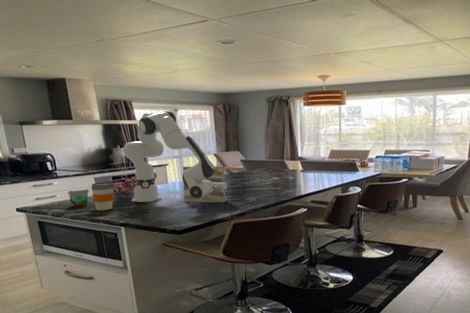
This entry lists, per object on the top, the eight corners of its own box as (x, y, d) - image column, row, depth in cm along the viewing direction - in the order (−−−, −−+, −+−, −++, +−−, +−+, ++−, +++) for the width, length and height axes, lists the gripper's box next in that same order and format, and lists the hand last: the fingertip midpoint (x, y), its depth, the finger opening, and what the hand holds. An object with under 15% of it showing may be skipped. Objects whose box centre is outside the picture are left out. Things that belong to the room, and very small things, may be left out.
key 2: (212, 186, 225) (211, 178, 224) (221, 186, 223) (220, 178, 223) (209, 187, 220) (209, 179, 220) (218, 187, 218) (218, 179, 218)
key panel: (188, 199, 233) (186, 166, 232) (226, 200, 227) (225, 165, 225) (183, 201, 227) (182, 167, 225) (223, 202, 220) (222, 166, 219)
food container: (71, 208, 219) (70, 191, 218) (68, 206, 224) (67, 190, 223) (92, 205, 227) (91, 189, 226) (89, 203, 232) (88, 188, 231)
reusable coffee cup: (114, 209, 210) (113, 184, 209) (91, 211, 206) (90, 185, 205) (115, 205, 222) (114, 181, 221) (94, 207, 219) (92, 183, 218)
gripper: (223, 182, 202) (229, 178, 215) (189, 181, 207) (197, 178, 220) (223, 193, 202) (230, 189, 215) (189, 192, 207) (197, 188, 221)
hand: (213, 183), depth 218 cm, fingers closed
